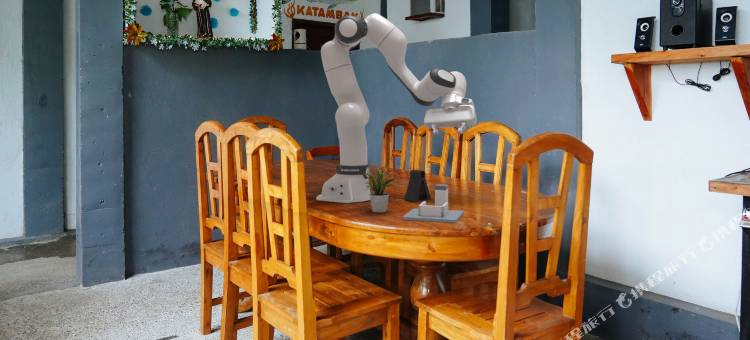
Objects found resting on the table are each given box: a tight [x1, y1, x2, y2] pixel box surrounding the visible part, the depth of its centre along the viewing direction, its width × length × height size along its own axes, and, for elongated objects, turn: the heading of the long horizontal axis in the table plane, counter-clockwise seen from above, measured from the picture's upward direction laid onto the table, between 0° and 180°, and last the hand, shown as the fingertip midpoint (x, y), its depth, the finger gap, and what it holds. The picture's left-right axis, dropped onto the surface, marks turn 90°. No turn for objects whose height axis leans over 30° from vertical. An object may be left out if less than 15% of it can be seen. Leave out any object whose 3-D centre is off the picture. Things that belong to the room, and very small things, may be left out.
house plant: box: [365, 166, 399, 213], centre depth 203 cm, size 14×14×16 cm
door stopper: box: [403, 169, 432, 203], centre depth 225 cm, size 9×6×12 cm, turn 126°
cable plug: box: [434, 183, 449, 206], centre depth 206 cm, size 4×4×9 cm
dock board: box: [402, 201, 465, 224], centre depth 194 cm, size 18×15×4 cm
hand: (447, 133), depth 214 cm, fingers open, 8 cm apart
